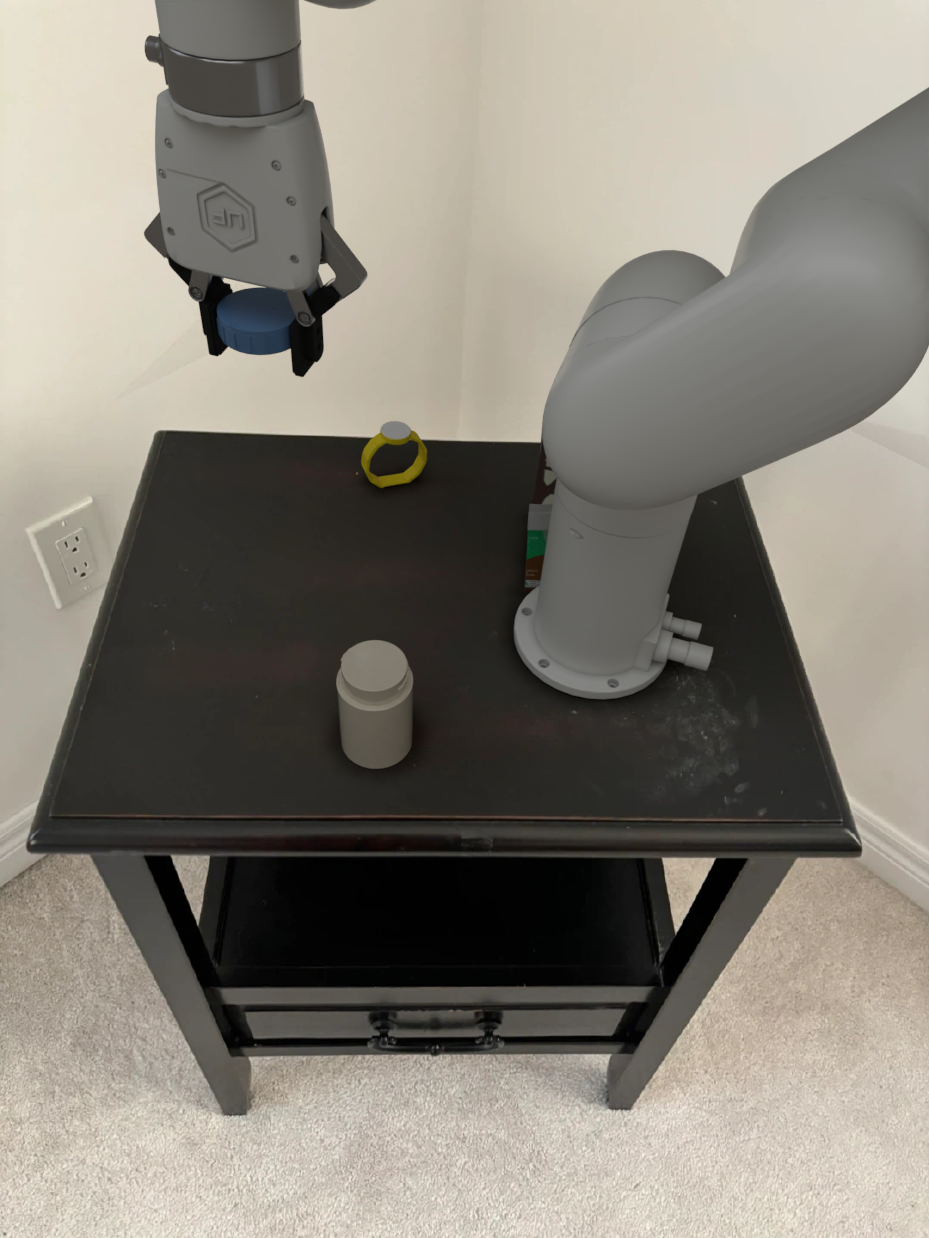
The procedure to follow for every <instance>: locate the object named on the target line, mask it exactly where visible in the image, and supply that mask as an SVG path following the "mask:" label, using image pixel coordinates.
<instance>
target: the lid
mask: <svg viewBox="0 0 929 1238" xmlns="http://www.w3.org/2000/svg"><path fill="white" fill-rule="evenodd" d="M217 317H218V318H216V319H217V326H218V333H219V335H220V337H221V339H222V341H223V342H224V344H226V345H227V346H228V348H230V349H232V350H234V351H235V352H239V353H241V354H245V355H251V356H269V355H275V354H280V353H283V352H286V351H288V350H291V347H290V335H289V326H290V324H291V323H292V321H293V320H294V319H295V315H294V312H293V310H292V307H291V305H290V302H289V300H288V298H287V295H286V293H285V291H280V290H276V289H271V288H266V287H262V286H257V287H249V288H243V289H239V290H236V291H233V293H231V294H229V295H227V296H226V297H224V298H223V299H222V300H221V301H220V302H219V304H218V306H217Z"/></svg>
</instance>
